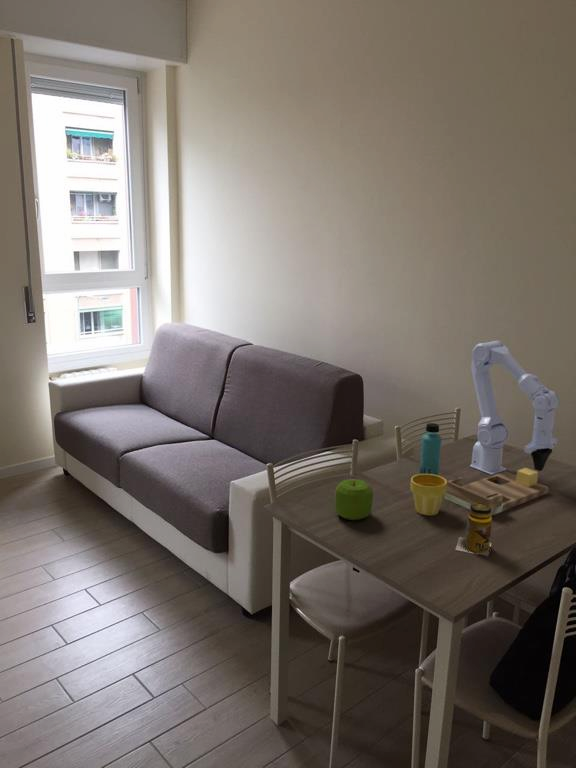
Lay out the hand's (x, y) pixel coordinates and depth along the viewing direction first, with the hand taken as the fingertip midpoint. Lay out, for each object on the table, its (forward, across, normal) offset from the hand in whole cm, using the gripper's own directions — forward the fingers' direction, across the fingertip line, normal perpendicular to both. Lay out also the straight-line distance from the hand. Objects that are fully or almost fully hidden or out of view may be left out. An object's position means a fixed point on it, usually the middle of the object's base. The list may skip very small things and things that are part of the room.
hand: (538, 469), depth 208 cm
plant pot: (+6, -43, +8) cm, 44 cm away
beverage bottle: (+6, -27, +22) cm, 35 cm away
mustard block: (+4, -5, +1) cm, 6 cm away
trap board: (+6, -17, +3) cm, 18 cm away
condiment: (+6, -49, -14) cm, 51 cm away
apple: (+6, -63, +18) cm, 66 cm away
